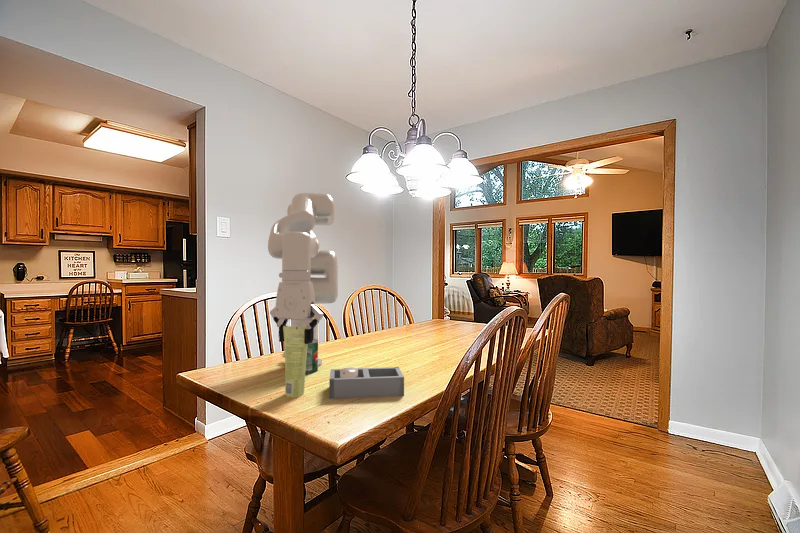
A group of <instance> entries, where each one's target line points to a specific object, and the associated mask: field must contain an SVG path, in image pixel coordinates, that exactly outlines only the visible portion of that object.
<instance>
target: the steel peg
mask: <svg viewBox="0 0 800 533" xmlns="http://www.w3.org/2000/svg"><path fill="white" fill-rule="evenodd" d="M356 368H357V367H343V368H340V369H341V370H340V378H358V369H356Z"/></svg>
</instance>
